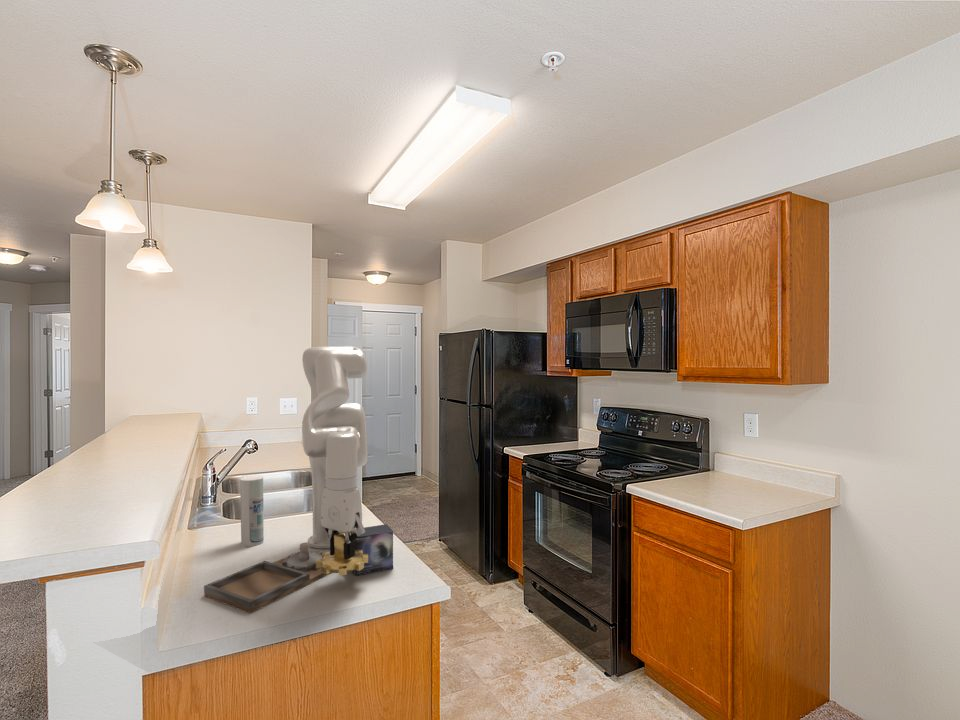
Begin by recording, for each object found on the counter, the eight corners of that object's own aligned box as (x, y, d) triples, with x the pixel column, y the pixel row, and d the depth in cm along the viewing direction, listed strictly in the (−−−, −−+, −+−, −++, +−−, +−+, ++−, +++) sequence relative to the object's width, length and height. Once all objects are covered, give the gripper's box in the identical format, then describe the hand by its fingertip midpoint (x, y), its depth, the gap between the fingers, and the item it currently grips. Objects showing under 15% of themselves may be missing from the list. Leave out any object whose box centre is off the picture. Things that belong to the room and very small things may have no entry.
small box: (354, 577, 134) (354, 536, 134) (349, 568, 140) (348, 529, 140) (394, 569, 139) (393, 530, 139) (387, 560, 145) (386, 523, 145)
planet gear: (342, 549, 138) (342, 522, 137) (378, 560, 131) (378, 530, 131) (305, 567, 127) (305, 537, 127) (342, 579, 121) (342, 548, 120)
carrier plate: (300, 554, 150) (300, 532, 149) (344, 566, 141) (343, 542, 141) (204, 596, 124) (203, 569, 124) (250, 613, 116) (249, 584, 116)
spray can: (251, 538, 163) (250, 474, 163) (268, 540, 161) (267, 476, 161) (236, 545, 157) (235, 479, 157) (253, 547, 155) (252, 481, 155)
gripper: (306, 481, 129) (307, 553, 130) (356, 491, 121) (357, 568, 122) (328, 474, 136) (329, 543, 136) (378, 483, 127) (378, 557, 128)
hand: (342, 554), depth 129 cm, fingers closed on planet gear, 4 cm apart
